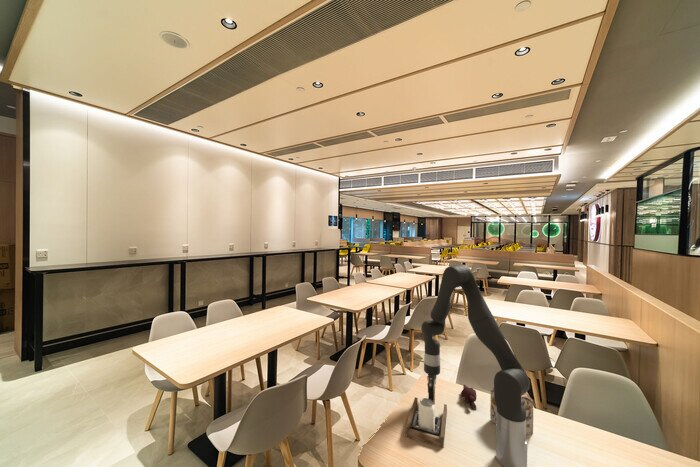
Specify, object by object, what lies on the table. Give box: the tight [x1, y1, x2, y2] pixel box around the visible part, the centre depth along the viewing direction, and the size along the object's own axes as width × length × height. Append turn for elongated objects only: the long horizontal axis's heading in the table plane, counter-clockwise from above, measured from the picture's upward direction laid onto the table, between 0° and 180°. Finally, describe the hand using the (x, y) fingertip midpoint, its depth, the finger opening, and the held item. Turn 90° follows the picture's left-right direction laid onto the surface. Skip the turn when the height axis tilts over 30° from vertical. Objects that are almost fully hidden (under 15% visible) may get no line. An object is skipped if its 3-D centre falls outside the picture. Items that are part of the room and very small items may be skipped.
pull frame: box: [411, 387, 442, 437], centre depth 122 cm, size 10×26×10 cm, turn 157°
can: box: [417, 397, 436, 431], centre depth 114 cm, size 6×6×12 cm
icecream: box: [460, 384, 477, 410], centre depth 135 cm, size 7×7×15 cm
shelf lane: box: [405, 397, 448, 449], centre depth 118 cm, size 14×22×4 cm, turn 157°
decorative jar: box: [489, 387, 534, 436], centre depth 118 cm, size 12×12×18 cm
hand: (431, 397), depth 132 cm, fingers closed on pull frame, 3 cm apart
